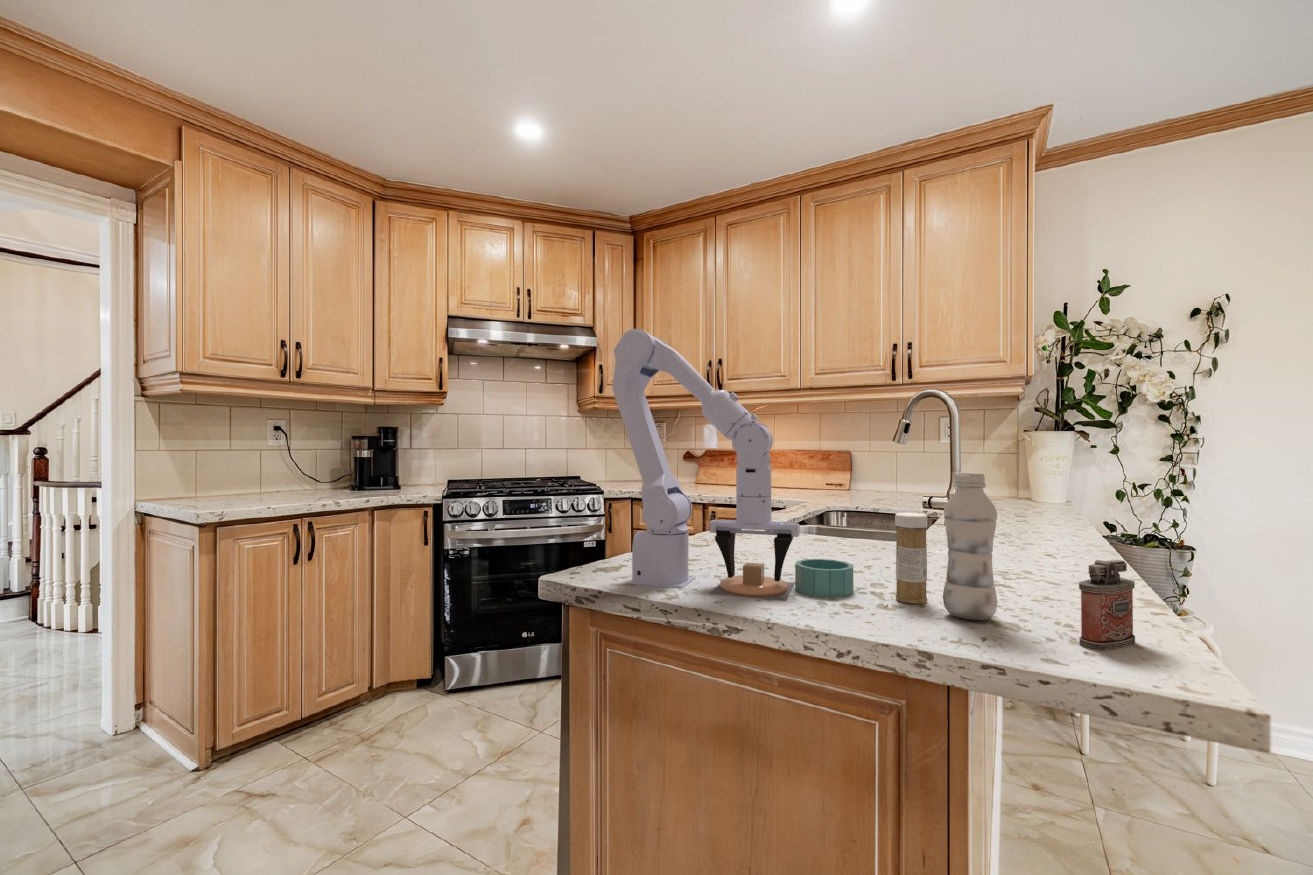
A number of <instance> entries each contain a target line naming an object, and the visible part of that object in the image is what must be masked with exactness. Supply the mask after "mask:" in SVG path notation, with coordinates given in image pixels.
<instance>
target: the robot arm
mask: <svg viewBox="0 0 1313 875" xmlns="http://www.w3.org/2000/svg"><path fill="white" fill-rule="evenodd" d="M613 354H614V358H615V361H614V362H615V363H614V371H613V378H612V385H611V387H612V392H613V396H614V398H615V401H616V404H617V408H618V410H619V413H620V416H621V419H622V422H623V424H624V425H623V426H624V428H625V433H626V434H627V438H628V440H629V444H630V446H631V450H632V453H633V456H634V459H635V461H636V464H637V468H638V470H639V474H640V477H641V480H642V486H641V488H640V489H641V490H640V496H641V501H642V510H641V514H642V519H643V520H642V521H643V522H644V524H645V525H646V528H647V529H646V530H637V531H636V533H635V534H634V537H633V540H632V547H631V548H632V549H631V550H632V551H631V557H632V558H631V560H632V564H631V567H632V571H631V577H632V579H631V580H630V584H633V585H645V586H654V587H663V588H664V587H666V588H676V589H677V588H678V589H684V588H685V587H686V586H688V585H689V584H691V583H692V582H693V581H694V580H696V576H694V575H689V531H690V530H689V527H688V525H687V522H688V521H689V520H690V518H691V517H692V514H693V504H692V501H691V499H690V498H689V496H688V495H687V494H685V492H684V491H683V490H682V488H681V484H680V482H679V481H678V480H677V478H676V477H675V476H674V475H673V473H672V471H671V468H670V465H669V462H668V459H667V457H666V453H665V451H664V447H663V444H662V442H661V438H660V435H659V432H658V430H657V426H656V424H655V421H654V417H653V415H652V412H651V409H650V406H649V402H648V400H647V397H646V394H645V390H646V388H647V386H648V384H649V383H650V382H651V381H650V380H651V379H653V377H655V375H657V374H658V373H659V372H660V371H661V372H663V373H666V374H669V375H670V376H672V378H674V379H675V380H676V381H677V382H678V383H680V384H681V386H683V387H684V388H685V389H686V390H687V391H688V392H689V393H690V394H691V395H693V397H695V398H696V399H697V400H698V401H699V402H700V403H701V413H702V415H703V417H705V419H706V420H707V421H708V422H709V423H711V424H712V426H713V427H715V429H717V430H718V432H719V433H720V434H721V435H723V436H724V437H725V438H726V439H727V440H728V441H729V440H730V441H731V445H732V448H733V450H734V451H735V453H736V470H735V473H736V475H735V476H736V478H735V481H736V482H735V483H736V488H735V490H736V491H735V492H736V496H735V498H736V500H735V502H736V503H735V504H736V519H712V520H710V521H709V533H712V534H715V536H714V540H715V542H716V545H717V546H718V548H719V550H720V553H721V555H722V558H723V561H724V564H725V568H726V572H727V577H728V578H732V577H734V576H736V573H735V572H736V569H735V568H736V563H735V544H736V535H737V534H743V535H745V534H746V535H761V536H765V535H767V536H775V537H774V538H773V546H774V547H773V548H774V574H773V576H774V577H773V578H774V579H775V581H780V580H782V571H783V565H784V562H785V559H786V555H787V553H788V552H789V551H788V550H789V547H791V543H792V542H793V540H794V538H798V537H799V536H800V523H795V522H782V521H773V520H772V467H771V460H772V458H771V453H769V452H770V451H771V450H772V448H773V444H774V436H773V434H772V432H771V430H770V429H769V428H768V426H767V425H766V424H764V423H760V422H757V421H758V419H759V416H758V415H757V414H756V413H750V411H748V410H747V409H746V408H745V407H744V406H743V405H742V404H741V403H740V402H739V401H738V400H739V398H740V397H739V396H738V395H737V394H736V393H735V392H733V391H732V392H731V393H730V392H729V391H728V390H726V389H718V390H717V389H715V388H714V387H713V386H712V385H711V384H710V383H709V382H708V381H707V380H706V379H705V378H704V377H703V376H702V375H701V374H700V373H699V371H697V370H696V368H695V367H694V366H692V364H691V363H690V362H689V361H688V360H687V359H686V358H685V357H684V356H683V355H682V354H681V353H679V352H678V351H677V350H676V349H675V348H673V347H671V346H670V345H668V344H667V343H666V342H665V341H664V340H662V339H661V338H659V337H656V336H653V335H652V334H650V333H648V332H647V331H645V330H644V329H640V328H632V329H629V330H627V331H626V332H625V333H624V334H623V335H622V336H621V337H620V339H619V340H618V343H616V346H615V348H614V349H613Z"/></svg>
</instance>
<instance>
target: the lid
mask: <svg viewBox="0 0 1313 875" xmlns="http://www.w3.org/2000/svg"><path fill="white" fill-rule="evenodd" d="M786 582H787V581H784V580H782V579H780V581H775V579H774V577H770V576H765V563H759V562H745V563H744V564H743V565H742V575H737V576H736V575H734V576H733V577H732V578H726V577H725V578H723V579H721V580H720V582H719V584H720V588H721V589H722V590H724V591H726V592H729V593H732V594H737V595H744V596H775V595H780V594H784V593H786V592H787V591H788V584H787V583H786Z"/></svg>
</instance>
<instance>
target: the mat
mask: <svg viewBox="0 0 1313 875" xmlns="http://www.w3.org/2000/svg"><path fill="white" fill-rule="evenodd" d="M725 578H728V576H727V577H725ZM785 582H786V583H787V584H788V591H787V592H786V593H784V594H780V595H775V596H744V595H737V594H732V593H729V592H726V591H724V590H722V589H721V588H720V583H719V584H718V585H716V586H715V587H714V588H713V589H712V590H711V591H710V592H709V593H708V594H709V595H717V596H726V597H727V596H728V597H729V596H730V597H739V598H751V599H760V600H761V599H762V600H772V601H784V602H786V601H787V599H788V597H789V596H790V594H791V592H792V591H793V588H794V586H795V582H789V581H785Z"/></svg>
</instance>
